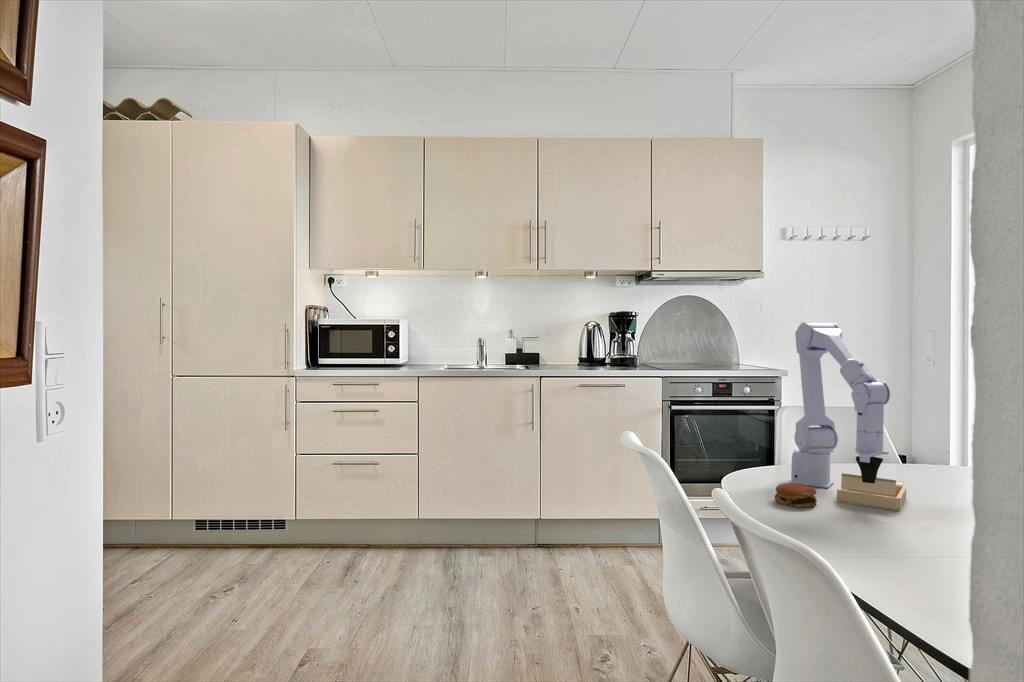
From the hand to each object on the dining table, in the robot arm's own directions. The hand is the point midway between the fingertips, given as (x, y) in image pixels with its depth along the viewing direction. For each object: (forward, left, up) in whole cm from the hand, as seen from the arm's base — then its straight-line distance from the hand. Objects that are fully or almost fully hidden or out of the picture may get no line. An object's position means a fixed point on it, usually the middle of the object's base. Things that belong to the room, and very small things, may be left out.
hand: (868, 487), depth 160 cm
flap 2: (0, +13, -1) cm, 13 cm away
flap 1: (0, -1, -1) cm, 2 cm away
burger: (-15, -9, -5) cm, 18 cm away
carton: (0, +6, -4) cm, 7 cm away
